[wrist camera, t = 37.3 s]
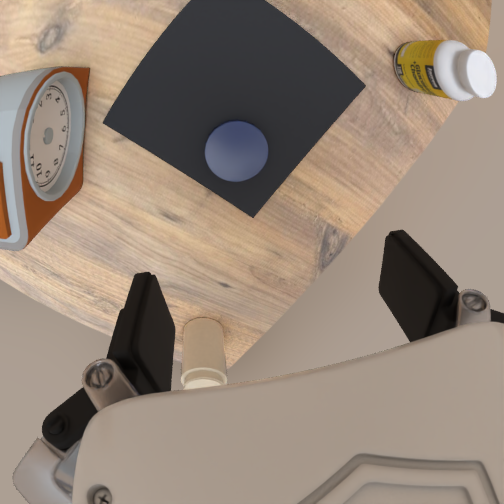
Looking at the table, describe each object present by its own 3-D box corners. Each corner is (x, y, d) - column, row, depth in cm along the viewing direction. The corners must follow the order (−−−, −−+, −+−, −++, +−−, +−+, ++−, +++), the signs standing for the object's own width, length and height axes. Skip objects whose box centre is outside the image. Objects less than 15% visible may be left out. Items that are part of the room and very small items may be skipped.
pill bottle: (382, 51, 25) (449, 49, 16) (419, 35, 24) (488, 33, 14) (405, 100, 29) (473, 117, 19) (439, 81, 27) (507, 95, 17)
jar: (231, 325, 43) (236, 384, 35) (212, 349, 46) (214, 405, 37) (193, 312, 41) (191, 371, 32) (177, 337, 44) (173, 394, 35)
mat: (364, 85, 28) (366, 85, 27) (252, 216, 35) (253, 218, 34) (218, -27, 20) (218, -28, 19) (103, 122, 27) (102, 122, 26)
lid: (278, 145, 30) (281, 148, 29) (239, 189, 32) (240, 194, 31) (231, 106, 28) (232, 107, 26) (192, 154, 30) (191, 157, 28)
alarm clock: (86, 196, 31) (30, 259, 19) (29, 192, 29) (-34, 249, 17) (92, 67, 23) (21, 66, 12) (30, 73, 22) (-50, 84, 10)
